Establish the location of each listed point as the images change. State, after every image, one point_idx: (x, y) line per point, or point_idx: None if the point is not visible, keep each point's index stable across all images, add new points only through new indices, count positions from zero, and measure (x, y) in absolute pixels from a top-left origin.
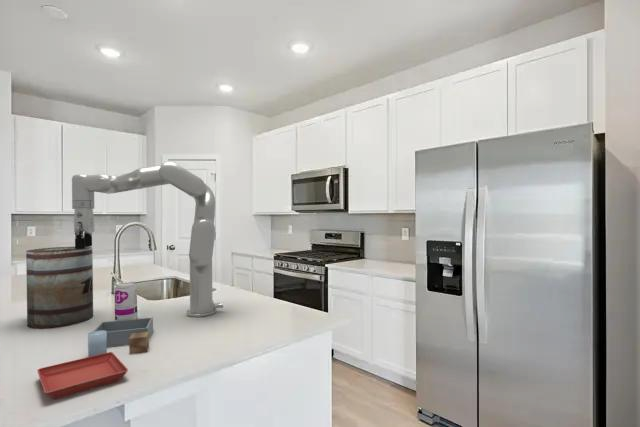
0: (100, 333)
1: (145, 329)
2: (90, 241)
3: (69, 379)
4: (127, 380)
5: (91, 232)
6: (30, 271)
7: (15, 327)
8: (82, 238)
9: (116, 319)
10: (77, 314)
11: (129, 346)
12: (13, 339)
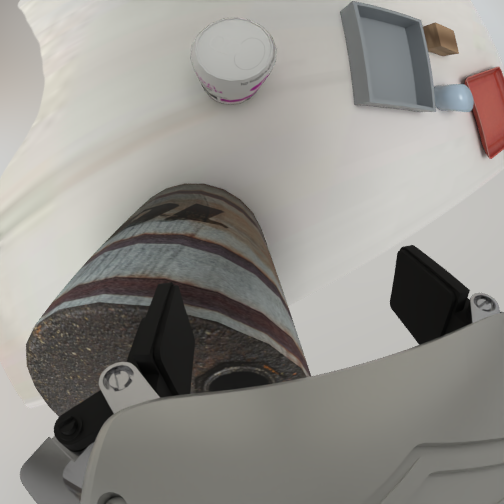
0: (468, 93)
1: (420, 23)
2: (170, 320)
3: (491, 122)
4: (492, 67)
5: (340, 370)
6: None
7: None
8: (478, 299)
9: (253, 94)
10: (237, 203)
11: (450, 54)
12: (322, 277)
